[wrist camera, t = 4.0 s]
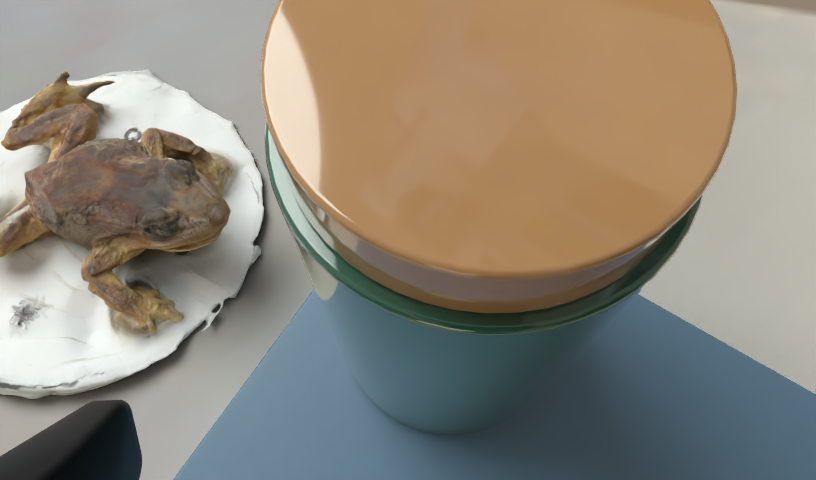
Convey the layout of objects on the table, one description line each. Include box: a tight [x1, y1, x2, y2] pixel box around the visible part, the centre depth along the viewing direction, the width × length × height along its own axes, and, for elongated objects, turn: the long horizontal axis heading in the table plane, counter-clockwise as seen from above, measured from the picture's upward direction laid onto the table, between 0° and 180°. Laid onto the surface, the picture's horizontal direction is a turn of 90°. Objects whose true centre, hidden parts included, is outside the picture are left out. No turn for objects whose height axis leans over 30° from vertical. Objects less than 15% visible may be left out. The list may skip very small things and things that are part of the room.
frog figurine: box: [0, 69, 264, 399], centre depth 20 cm, size 12×12×4 cm
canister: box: [260, 0, 737, 435], centre depth 12 cm, size 5×5×10 cm
